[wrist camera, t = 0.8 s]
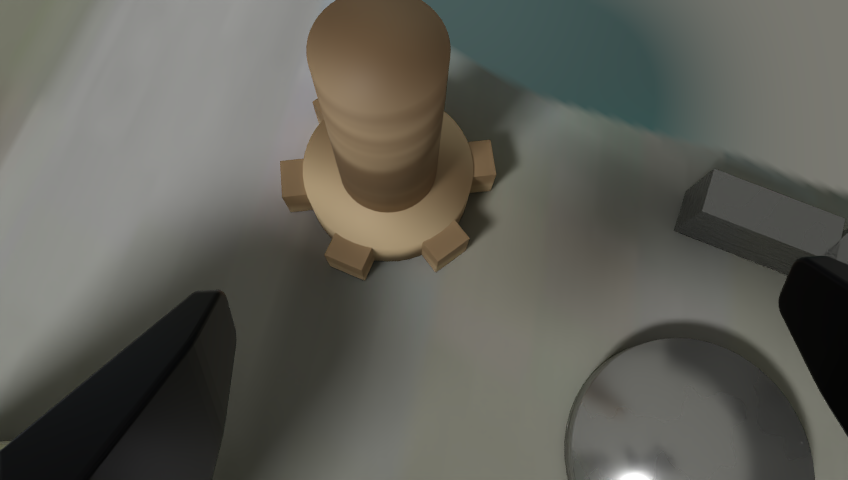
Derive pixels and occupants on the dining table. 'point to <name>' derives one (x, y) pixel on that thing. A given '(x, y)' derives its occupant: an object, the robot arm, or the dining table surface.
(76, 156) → the dining table surface
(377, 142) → the gear
